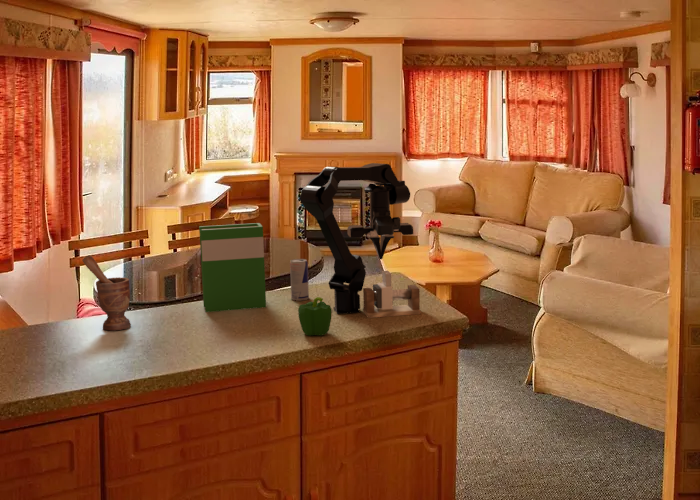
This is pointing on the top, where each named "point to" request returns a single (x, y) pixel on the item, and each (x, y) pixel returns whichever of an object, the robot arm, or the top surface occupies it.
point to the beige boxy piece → (386, 290)
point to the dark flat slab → (378, 296)
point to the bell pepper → (315, 317)
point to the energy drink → (299, 279)
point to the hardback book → (232, 267)
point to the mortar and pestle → (111, 296)
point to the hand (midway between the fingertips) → (380, 258)
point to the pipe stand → (401, 294)
